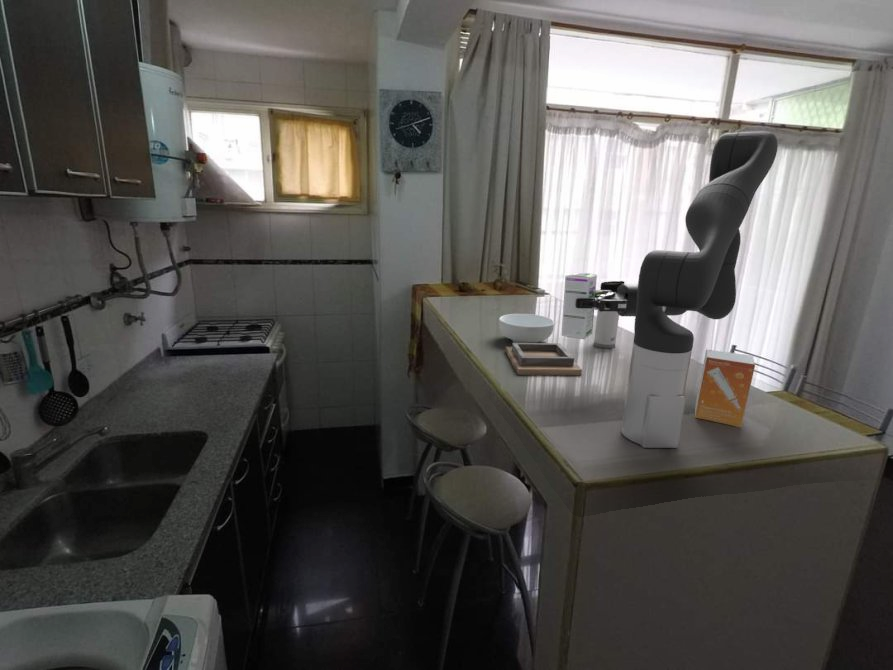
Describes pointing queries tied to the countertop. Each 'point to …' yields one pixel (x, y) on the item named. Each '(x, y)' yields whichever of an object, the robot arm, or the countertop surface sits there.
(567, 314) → the syrup box
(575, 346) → the countertop surface
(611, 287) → the travel mug
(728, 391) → the small box
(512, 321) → the cereal bowl
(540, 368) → the wooden tray
